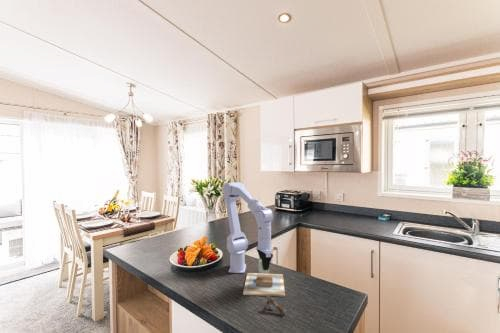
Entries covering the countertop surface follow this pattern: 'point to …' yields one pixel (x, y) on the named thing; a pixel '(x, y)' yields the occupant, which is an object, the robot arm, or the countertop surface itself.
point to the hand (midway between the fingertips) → (264, 267)
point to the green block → (261, 267)
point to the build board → (264, 292)
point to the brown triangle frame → (274, 305)
